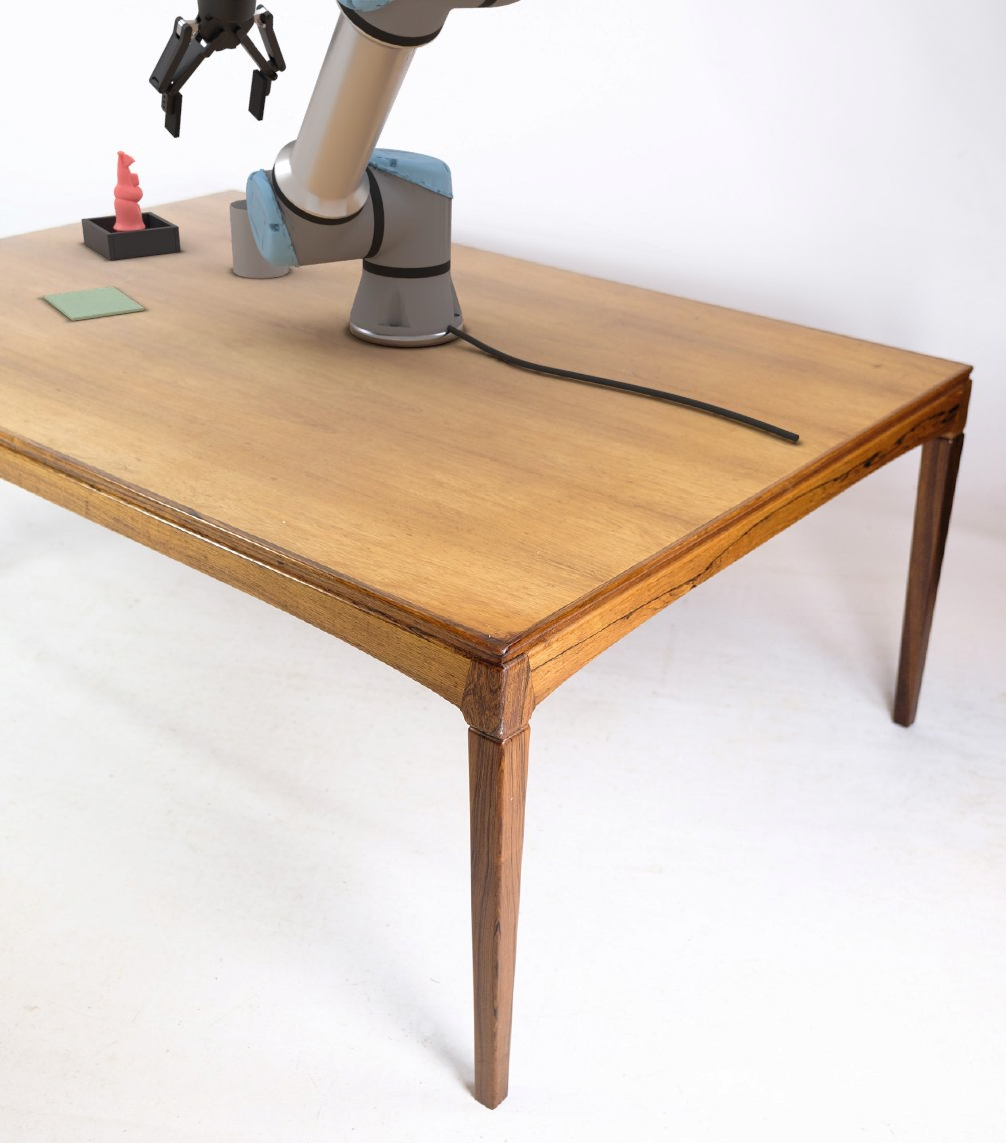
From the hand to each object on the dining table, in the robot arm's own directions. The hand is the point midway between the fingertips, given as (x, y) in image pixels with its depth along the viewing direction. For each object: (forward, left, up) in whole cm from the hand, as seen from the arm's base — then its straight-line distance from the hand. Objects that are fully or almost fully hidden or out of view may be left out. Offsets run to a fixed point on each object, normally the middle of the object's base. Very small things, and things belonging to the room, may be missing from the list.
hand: (214, 124), depth 183 cm
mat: (-3, +21, -22) cm, 31 cm away
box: (+24, +5, -22) cm, 33 cm away
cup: (+2, -7, -22) cm, 24 cm away
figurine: (+24, +5, -22) cm, 33 cm away
